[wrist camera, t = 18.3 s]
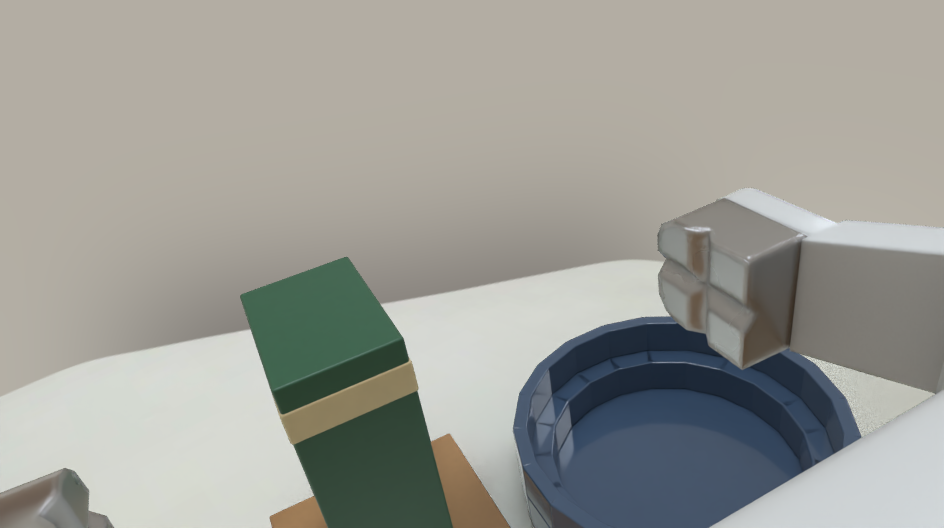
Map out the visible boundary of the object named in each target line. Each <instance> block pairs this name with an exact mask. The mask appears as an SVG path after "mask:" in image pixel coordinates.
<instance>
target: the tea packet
mask: <svg viewBox="0 0 944 528" xmlns="http://www.w3.org/2000/svg"><path fill="white" fill-rule="evenodd" d="M240 298H241V301H242V304H243V307H244V310H245V313H246V316H247V319H248V322H249V325H250V328H251V332H252V335H253V338H254V341H255V344H256V347H257V350H258V353H259V356H260V359H261V362H262V365H263V368H264V371H265V374H266V377H267V380H268V383H269V386H270V389H271V392H272V395H273V398H274V401H275V404H276V407H277V410H278V413H279V416H280V419H281V421H282V424H283V426H284V429H285V431H286V433H287V436H288V438H289V441H290V443H291V444H292V445H294V448H295V450H296V453H297V455H298V457H299V460H300V462H301V465H302V467H303V470H304V472H305V474H306V477H307V479H308V482H309V484H310V486H311V489H312V491H313V494H314V496H315V499H316V501H317V503H318V506H319V508H320V511H321V513H322V515H323V518H324V520H325V523H326V525H327V528H453V525H452V521H451V517H450V513H449V510H448V506H447V502H446V498H445V494H444V491H443V487H442V483H441V479H440V475H439V472H438V468H437V464H436V460H435V456H434V452H433V449H432V445H431V441H430V437H429V433H428V430H427V426H426V422H425V418H424V414H423V411H422V407H421V403H420V399H419V395H418V392H417V390H418V384H417V380H416V376H415V372H414V368H413V365H412V361H411V360H410V358H409V357H408V354H407V350H406V346H405V342H404V338H403V337H402V335H401V334H400V333H399V331H398V330H397V328H396V327H395V325H394V324H393V322H392V321H391V319H390V318H389V316H388V315H387V314H386V312H385V311H384V309H383V308H382V306H381V305H380V303H379V302H378V300H377V299H376V297H375V296H374V295H373V293H372V292H371V290H370V289H369V288H368V286H367V284H366V283H365V281H364V280H363V278H362V277H361V276H360V274H359V273H358V271H357V270H356V268H355V267H354V265H353V264H352V262H351V261H350V259H349V258H348V257H344V258H341V259H338V260H335V261H333V262H330V263H327V264H324V265H322V266H319V267H316V268H313V269H311V270H308V271H305V272H302V273H299V274H297V275H294V276H291V277H289V278H286V279H283V280H280V281H277V282H274V283H272V284H269V285H266V286H263V287H261V288H258V289H255V290H253V291H250V292H247V293H244V294H242V295H241V296H240Z"/></svg>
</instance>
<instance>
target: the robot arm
mask: <svg viewBox="0 0 944 528" xmlns="http://www.w3.org/2000/svg"><path fill="white" fill-rule="evenodd" d="M658 251H659V252H660V253H661V254H662V255H663V256H664V257H665V258H666V260H665V262H664V264H663V266H662V268H661V270H660V272H659V274H658V282H659V295H660V297H661V299H662V302H663V304H664V306H665V309H666V311H667V312H668V313H669V314H670V315H671V317H672V318H673V319H674V320H675V321H676V322H677V323H678V324H680V325H681V326H682V327H684V328H685V329H686V330H689V331H694V332H699V333H704V334H706V337H707V342H708V346H709V347H711V348H712V349H714V350H715V351H716V352H718V353H719V354H721V355H722V356H723V357H725V358H726V359H727V360H729V361H730V362H732V363H733V364H734V365H736V366H737V367H739V368H740V369H741V370H744V369H746V368H748V367H750V366H752V365H754V364H756V363H758V362H760V361H763V360H765V359H767V358H769V357H771V356H773V355H775V354H777V353H780V352H782V351H784V350H786V349H788V348H790V351H792V352H796V353H799V354H802V355H806V356H809V357H813V358H816V359H819V360H823V361H826V362H830V363H833V364H836V365H840V366H843V367H847V368H850V369H853V370H857V371H860V372H864V373H867V374H870V375H874V376H877V377H881V378H884V379H887V380H891V381H894V382H898V383H901V384H904V385H908V386H911V387H915V388H918V389H921V390H925V391H928V392H932V393H935V395H933V396H932V397H930V398H928V399H927V400H925V401H923V402H921V403H920V404H918V405H916V406H915V407H913V408H911V409H910V410H908V411H906V412H904V413H903V414H901V415H899V416H898V417H896V418H894V419H892V420H891V421H889V422H887V423H886V424H884V425H882V426H881V427H879V428H877V429H875V430H874V431H872V432H870V433H869V434H867V435H865V436H864V437H862V438H860V439H859V440H857V441H855V442H853V443H852V444H850V445H848V446H847V447H845V448H843V449H842V450H840V451H838V452H836V453H835V454H833V455H831V456H830V457H828V458H826V459H825V460H823V461H821V462H819V463H818V464H816V465H814V466H813V467H811V468H809V469H808V470H806V471H804V472H802V473H801V474H799V475H797V476H796V477H794V478H792V479H791V480H789V481H787V482H785V483H784V484H782V485H780V486H779V487H777V488H775V489H774V490H772V491H770V492H769V493H767V494H765V495H763V496H762V497H760V498H758V499H757V500H755V501H753V502H752V503H750V504H748V505H746V506H745V507H743V508H741V509H740V510H738V511H736V512H735V513H733V514H731V515H729V516H728V517H726V518H724V519H723V520H721V521H719V522H718V523H716V524H714V525H712V526H711V527H709V528H944V228H942V227H930V226H916V225H904V224H890V223H878V222H866V221H853V220H845V221H842V222H840V223H836V222H833V221H831V220H829V219H826V218H824V217H821V216H819V215H817V214H814V213H812V212H810V211H807V210H805V209H803V208H800V207H798V206H795V205H793V204H791V203H788V202H786V201H784V200H781V199H779V198H777V197H774V196H772V195H769V194H767V193H765V192H762V191H760V190H758V189H755V188H742V189H740V190H737V191H735V192H733V193H731V194H729V195H726V196H724V197H722V198H720V199H718V200H716V201H715V202H713V203H711V204H708V205H706V206H703V207H701V208H699V209H697V210H694V211H692V212H689V213H687V214H684V215H682V216H680V217H678V218H676V219H673V220H670V221H668V222H665V223H663V224H661V227H660V230H659V232H658ZM88 504H89V490H88V489H87V487H86V486H85V485H84V483H83V482H82V481H81V479H80V478H79V477H78V475H77V474H76V473H75V471H73V470H70V469H67V468H64V469H61V470H58V471H56V472H53V473H51V474H48V475H46V476H43V477H40V478H38V479H35V480H33V481H30V482H28V483H25V484H22V485H20V486H17V487H15V488H12V489H10V490H7V491H4V492H2V493H0V528H114V527H113V525H112V524H111V522H110V521H109V519H108V517H107V516H105V515H101V514H98V513H94V512H91V511H88Z"/></svg>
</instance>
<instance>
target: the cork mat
mask: <svg viewBox="0 0 944 528" xmlns="http://www.w3.org/2000/svg"><path fill="white" fill-rule="evenodd" d="M431 445H432V449H433V452H434V456H435V460H436V464H437V468H438V472H439V475H440V479H441V483H442V487H443V491H444V494H445V498H446V502H447V506H448V510H449V513H450V517H451V521H452V525H453V528H510V526H509V525H508V523H507V521H506V520H505V518H504V517H503V515H502V514H501V512H500V511H499V509H498V508H497V506H496V504H495V503H494V501H493V500H492V498H491V497H490V495H489V494H488V492H487V490H486V489H485V487H484V486H483V484H482V483H481V481H480V480H479V478H478V477H477V475H476V473H475V472H474V470H473V469H472V467H471V466H470V464H469V463H468V461H467V459H466V458H465V456H464V455H463V453H462V452H461V450H460V449H459V447H458V446H457V444H456V442H455V441H454V439H453V438H452V436H451V435H450V434H447V435H445V436H442V437H440V438H438V439H436V440H434V441H432V442H431ZM270 521H271V525H272V528H327V525H326V523H325V520H324V518H323V515H322V513H321V511H320V508H319V506H318V503H317V501H316V499H315V496H313V497H311V498H308V499H306V500H304V501H302V502H300V503H298V504H295V505H293V506H291V507H289V508H287V509H285V510H283V511H280V512H278V513H276V514H274V515H272V516H270Z"/></svg>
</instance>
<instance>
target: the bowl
mask: <svg viewBox="0 0 944 528" xmlns="http://www.w3.org/2000/svg"><path fill="white" fill-rule="evenodd" d="M513 434H514V440H515V446H516V452H517V457H518V464H519V469H520V475H521V481H522V486H523V490H524V494H525V498H526V502H527V506H528V510H529V514H530V518H531V521H532V523H533V525H534V526H535V528H709V527H711V526H712V525H714V524H716V523H718V522H719V521H721V520H723V519H724V518H726V517H728V516H729V515H731V514H733V513H735V512H736V511H738V510H740V509H741V508H743V507H745V506H746V505H748V504H750V503H752V502H753V501H755V500H757V499H758V498H760V497H762V496H763V495H765V494H767V493H769V492H770V491H772V490H774V489H775V488H777V487H779V486H780V485H782V484H784V483H785V482H787V481H789V480H791V479H792V478H794V477H796V476H797V475H799V474H801V473H802V472H804V471H806V470H808V469H809V468H811V467H813V466H814V465H816V464H818V463H819V462H821V461H823V460H825V459H826V458H828V457H830V456H831V455H833V454H835V453H836V452H838V451H840V450H842V449H843V448H845V447H847V446H848V445H850V444H852V443H853V442H855V441H857V440H859V439H860V438H861V434H860V432H859V429H858V427H857V424H856V422H855V419H854V417H853V414H852V412H851V409H850V406H849V404H848V401H847V399H846V398H845V396H844V395H843V394H842V393H841V392H840V391H839V390H838V388H837V387H836V386H835V385H834V384H833V383H832V382H831V381H830V380H829V378H828V377H827V376H826V375H825V374H824V373H823V372H822V371H821V370H820V368H819V367H818V366H816V364H814V363H813V362H811V361H810V360H808V359H807V358H805V357H803V356H802V355H800V354H799V353H796V352H792V351H790V348H788V349H786V350H784V351H782V352H780V353H777V354H775V355H773V356H771V357H769V358H767V359H765V360H763V361H760V362H758V363H756V364H754V365H752V366H750V367H748V368H746V369H744V370H741V369H740V368H739V367H737V366H736V365H734V364H733V363H732V362H730V361H729V360H727V359H726V358H725V357H723V356H722V355H721V354H719V353H718V352H716V351H715V350H714V349H712V348H711V347H709V346H708V342H707V337H706V334H704V333H699V332H694V331H689V330H686V329H685V328H684V327H682V326H681V325H680V324H678V323H677V322H676V321H675V320H674V319H673V318H672V317H671V316H670V317H645V318H644V317H641V318H636V319H631V320H627V321H622V322H617V323H612V324H607V325H604V326H600V327H598V328H596V329H594V330H591V331H589V332H587V333H585V334H582V335H580V336H578V337H576V338H573V339H571V340H569V341H567V342H565V343H564V344H563V345H562V346H560V347H559V348H558V349H557V350H555V351H554V352H553V353H552V354H550V355H549V356H548V357H547V358H545V359H544V360H543V361H542V362H540V363H539V364H538V365H537V367H536V368H535V370H534V371H533V373H532V374H531V376H530V377H529V379H528V381H527V382H526V384H525V385H524V387H523V388H522V390H521V392H520V393H519V396H518V402H517V408H516V414H515V419H514V425H513Z"/></svg>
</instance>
